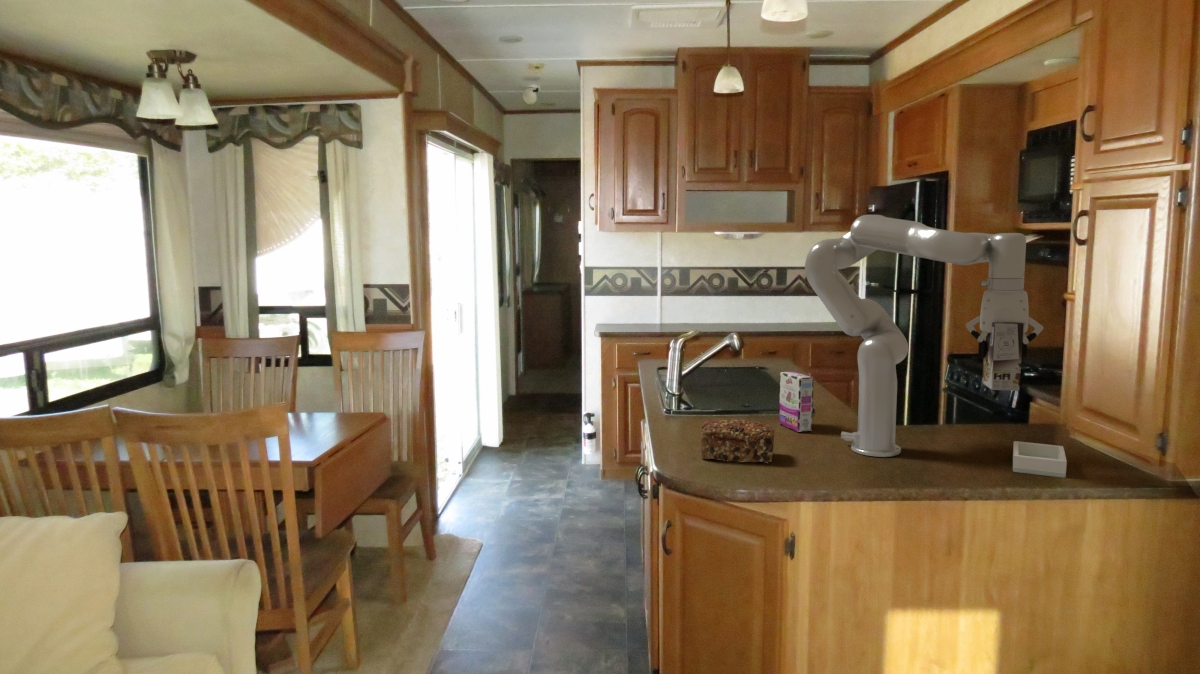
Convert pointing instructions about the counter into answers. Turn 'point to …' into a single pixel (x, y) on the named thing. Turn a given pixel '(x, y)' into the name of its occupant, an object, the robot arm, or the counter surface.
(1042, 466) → the holder
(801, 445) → the counter surface
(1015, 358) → the coffee box
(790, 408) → the candy bar box
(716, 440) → the bread
